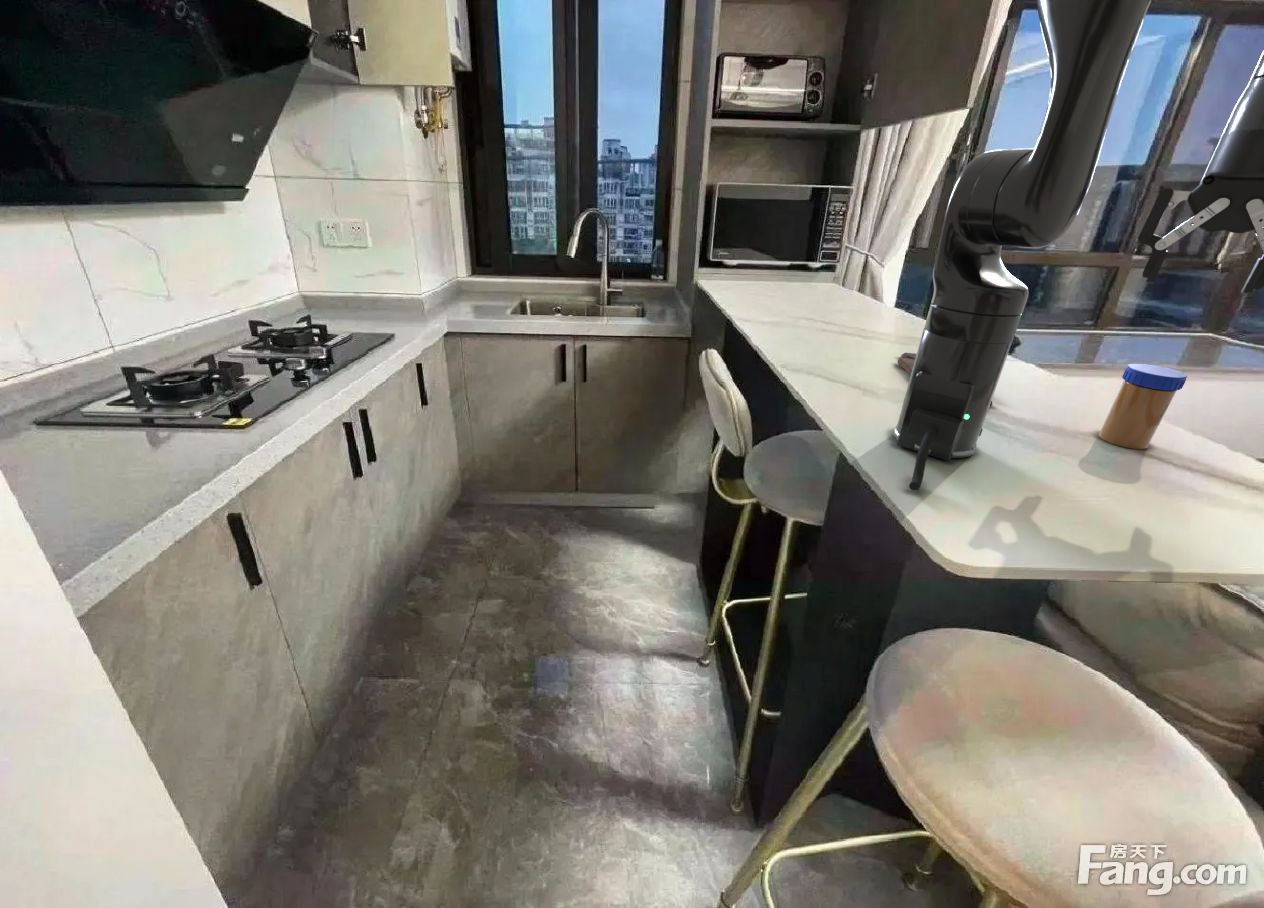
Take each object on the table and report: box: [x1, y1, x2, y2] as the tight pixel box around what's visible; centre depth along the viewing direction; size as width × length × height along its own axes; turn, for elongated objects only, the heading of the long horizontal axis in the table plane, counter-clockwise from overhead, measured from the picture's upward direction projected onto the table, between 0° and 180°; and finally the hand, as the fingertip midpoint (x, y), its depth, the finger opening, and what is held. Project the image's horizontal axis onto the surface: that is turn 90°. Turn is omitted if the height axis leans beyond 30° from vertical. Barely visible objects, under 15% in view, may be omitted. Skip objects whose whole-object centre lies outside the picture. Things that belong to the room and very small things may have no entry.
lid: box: [1121, 363, 1188, 391], centre depth 69 cm, size 6×6×2 cm
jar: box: [1098, 379, 1178, 450], centre depth 71 cm, size 5×5×9 cm
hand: (1196, 287), depth 64 cm, fingers open, 8 cm apart
